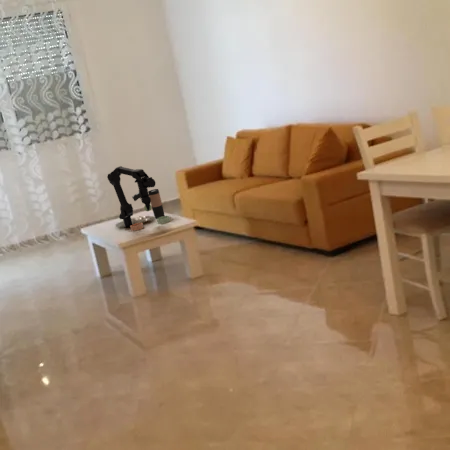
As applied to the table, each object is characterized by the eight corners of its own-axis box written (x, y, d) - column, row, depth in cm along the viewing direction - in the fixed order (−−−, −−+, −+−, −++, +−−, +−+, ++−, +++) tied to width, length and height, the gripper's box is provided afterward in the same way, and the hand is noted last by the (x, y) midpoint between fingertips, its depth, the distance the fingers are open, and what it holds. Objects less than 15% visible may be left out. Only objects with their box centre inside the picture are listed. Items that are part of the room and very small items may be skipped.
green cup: (156, 223, 485) (155, 219, 485) (166, 219, 489) (165, 215, 489) (161, 224, 478) (160, 219, 478) (171, 220, 483) (170, 216, 482)
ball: (143, 212, 481) (142, 205, 480) (150, 209, 484) (148, 203, 483) (147, 212, 477) (145, 205, 476) (153, 210, 480) (151, 203, 478)
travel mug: (154, 217, 505) (148, 190, 501) (164, 214, 506) (158, 188, 501) (154, 219, 498) (148, 192, 493) (165, 217, 498) (158, 190, 494)
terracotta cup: (129, 229, 483) (128, 225, 482) (139, 226, 487) (138, 222, 486) (134, 231, 476) (133, 226, 475) (145, 227, 480) (144, 223, 479)
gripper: (130, 188, 484) (136, 210, 488) (131, 192, 466) (137, 215, 470) (146, 184, 486) (151, 206, 490) (148, 188, 468) (153, 211, 472)
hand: (148, 209), depth 480 cm, fingers closed on ball, 5 cm apart
